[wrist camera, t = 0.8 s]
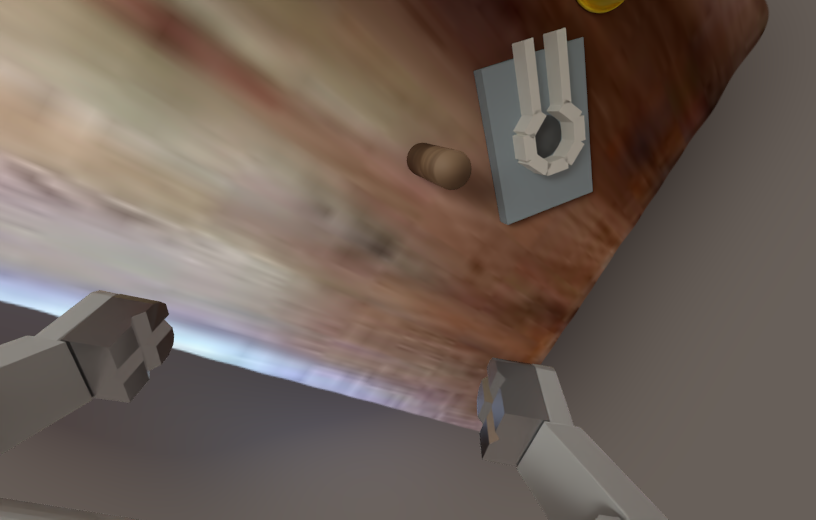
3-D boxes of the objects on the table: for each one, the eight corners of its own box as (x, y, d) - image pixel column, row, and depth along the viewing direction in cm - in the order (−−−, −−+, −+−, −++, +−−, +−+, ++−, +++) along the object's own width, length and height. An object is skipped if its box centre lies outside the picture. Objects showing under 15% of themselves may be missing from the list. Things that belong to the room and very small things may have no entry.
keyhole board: (471, 56, 45) (489, 51, 41) (571, 25, 47) (597, 17, 43) (500, 221, 54) (517, 229, 50) (582, 189, 56) (605, 194, 52)
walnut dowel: (403, 148, 46) (431, 157, 37) (432, 138, 47) (467, 144, 38) (411, 179, 48) (440, 195, 39) (440, 169, 49) (474, 182, 40)
